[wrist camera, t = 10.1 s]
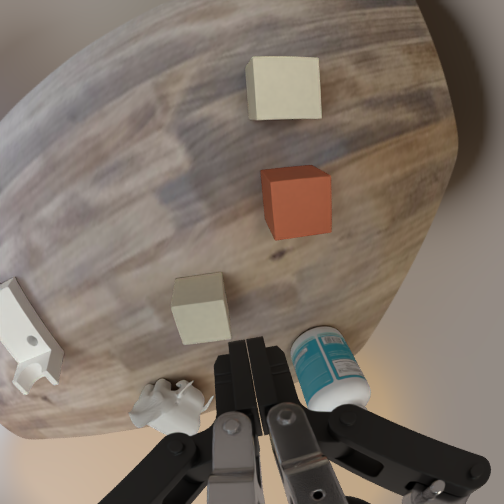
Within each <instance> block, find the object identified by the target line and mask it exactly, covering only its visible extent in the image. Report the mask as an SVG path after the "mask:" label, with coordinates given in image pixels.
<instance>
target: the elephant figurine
mask: <svg viewBox="0 0 504 504" xmlns="http://www.w3.org/2000/svg"><path fill="white" fill-rule="evenodd" d="M193 382H194V380H193V381H192V382H190V383H189V382H187V381H186V380H181V381H179V382H178V383H177V384H176V386H177V387H179V388H180V389H178V390H176V391H171V383H170V382H168V381H166V380H165V379H159V380H158V381H157V382H156V384H155V385H152V384H147V385H146V386H145V387H144V389H143V391H142V393H141V395H140V397H139V400H138V401H137V402H136V403H135V404H134V406H133V409H132V411H131V412H129V416H130V418H131V420H132V422H133V423H134V425H135V426H136V427H138V428H142V427H143V426H145V425H149V426H151V427H152V428H154V429H156V430H158V431H160V432H161V433H163V434H166V435H169V434H171V433H175V432H181V433H185V434H187V435H189V436H192V435H195V434H197V432H198V430H199V427H200V414H201V412H203V411H205V410H206V409H207V408H208V406H209V405H210V403H211V401H212V399H213V397H214V395H213V396H212V397H211V398H210V400H209V401H208V403H207V404H206V405H205V406H203V405H204V401H205V400H204V396H203V394H202V392H201V391H200V390H198V389H196V388H195V387H194V386H192V385H191V384H192V383H193Z"/></svg>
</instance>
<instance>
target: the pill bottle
mask: <svg viewBox="0 0 504 504" xmlns="http://www.w3.org/2000/svg"><path fill="white" fill-rule="evenodd" d="M291 359H292V362H293V365H294V368H295V371H296V374H297V377H298V380H299V383H300V386H301V389H302V392H303V395H304V398H305V401H306V404H307V406H308V409H310V410H313V411H324V412H332V410H333V409H335V408H336V407H338V406H340V405H343V404H354V405H357V406H359V407H361V408H363V409H365V410H367V408H366V407H365V406H366V404H367V403H368V401H369V399H370V395H371V390H370V387H369V385H368V382H367V380H366V379H365V377H364V375H363V373H362V371H361V369H360V367H359V365H358V364H357V362H356V360H355V358H354V356H353V354H352V352H351V351H350V349H349V347H348V345H347V343H346V341H345V340H344V338H343V336H342V334H341V333H340V332H339V331H338V330H336V329H335V328H332V327H326V326H323V327H316V328H313V329H310V330H308V331H306V332H305V333H303V334H302V335H300V336H299V337H298V338H297V339H296V341H295V342H294V343H293V345H292V348H291ZM367 411H368V410H367Z"/></svg>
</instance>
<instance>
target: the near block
mask: <svg viewBox="0 0 504 504" xmlns="http://www.w3.org/2000/svg"><path fill="white" fill-rule="evenodd" d="M245 72H246V86H247V100H248V114H249V120H278V119H322V110H321V90H320V73H319V60H318V58H313V57H291V56H257V57H252V58H251V60H250V61H249V63H248V64H247V66H246V67H245Z"/></svg>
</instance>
